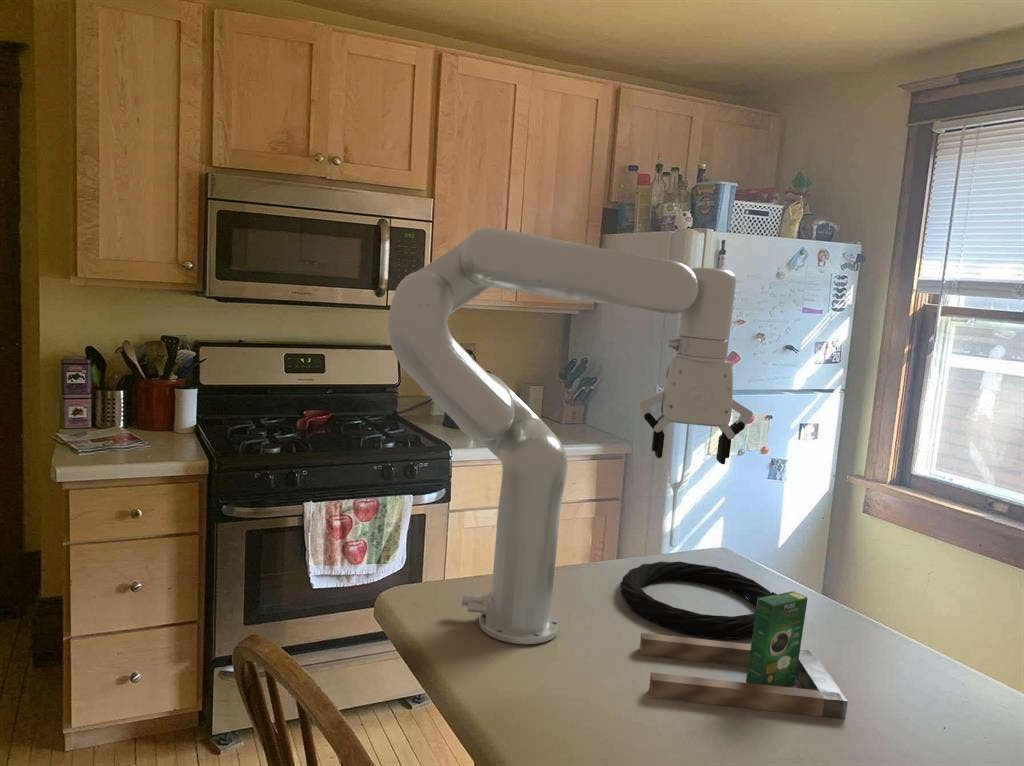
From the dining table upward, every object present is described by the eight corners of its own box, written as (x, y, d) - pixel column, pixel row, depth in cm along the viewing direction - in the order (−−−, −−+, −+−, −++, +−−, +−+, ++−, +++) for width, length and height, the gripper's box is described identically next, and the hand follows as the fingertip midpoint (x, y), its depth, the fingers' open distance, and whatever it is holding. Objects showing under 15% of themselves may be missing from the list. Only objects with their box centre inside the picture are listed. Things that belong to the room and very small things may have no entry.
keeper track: (650, 697, 101) (652, 679, 101) (639, 648, 115) (641, 632, 115) (845, 718, 100) (847, 701, 100) (810, 666, 114) (812, 650, 114)
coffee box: (780, 674, 111) (792, 588, 109) (797, 683, 109) (809, 596, 107) (743, 686, 107) (755, 596, 105) (760, 696, 104) (772, 605, 103)
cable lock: (625, 549, 149) (784, 573, 144) (623, 568, 150) (782, 592, 144) (616, 604, 122) (812, 635, 117) (613, 627, 123) (808, 659, 117)
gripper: (648, 346, 113) (635, 459, 115) (766, 357, 112) (751, 470, 114) (642, 343, 120) (631, 449, 123) (753, 352, 120) (739, 459, 122)
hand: (689, 459), depth 118 cm, fingers open, 9 cm apart
